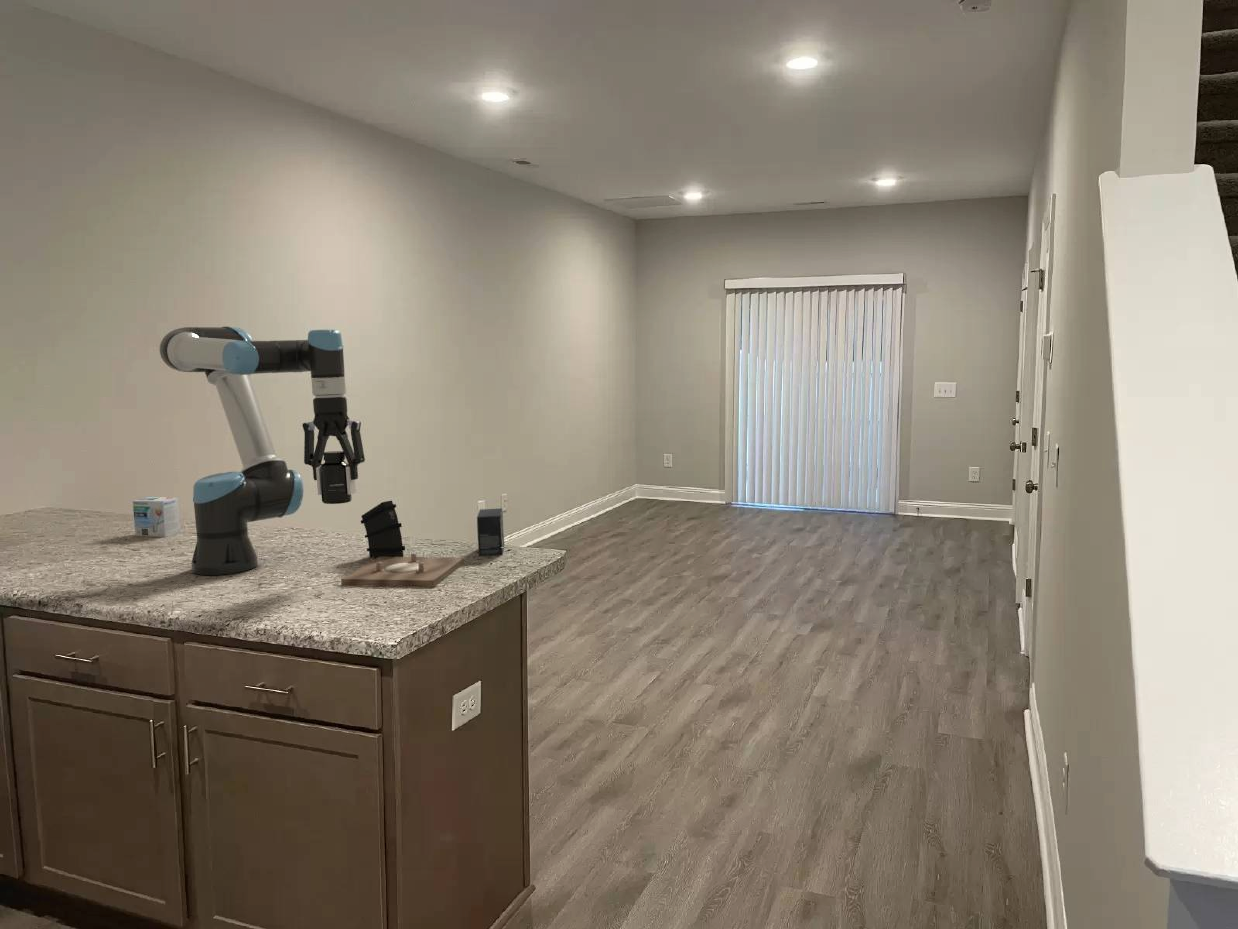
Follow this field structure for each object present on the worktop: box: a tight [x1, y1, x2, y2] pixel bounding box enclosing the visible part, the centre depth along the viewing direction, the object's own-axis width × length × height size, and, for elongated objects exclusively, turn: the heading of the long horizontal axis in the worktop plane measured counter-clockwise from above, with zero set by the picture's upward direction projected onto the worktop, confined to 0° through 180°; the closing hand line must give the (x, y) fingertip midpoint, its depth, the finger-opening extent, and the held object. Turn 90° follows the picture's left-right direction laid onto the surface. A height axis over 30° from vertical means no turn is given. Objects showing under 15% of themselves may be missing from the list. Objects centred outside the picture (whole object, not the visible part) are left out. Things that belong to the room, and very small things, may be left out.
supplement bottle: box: [320, 450, 353, 505], centre depth 218 cm, size 7×7×12 cm
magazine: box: [360, 500, 406, 559], centre depth 237 cm, size 4×13×15 cm, turn 50°
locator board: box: [340, 552, 465, 588], centre depth 220 cm, size 22×22×4 cm
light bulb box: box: [132, 496, 181, 538], centre depth 274 cm, size 11×7×11 cm, turn 77°
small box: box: [476, 507, 505, 557], centre depth 242 cm, size 11×6×10 cm, turn 5°
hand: (336, 493), depth 219 cm, fingers closed on supplement bottle, 7 cm apart
